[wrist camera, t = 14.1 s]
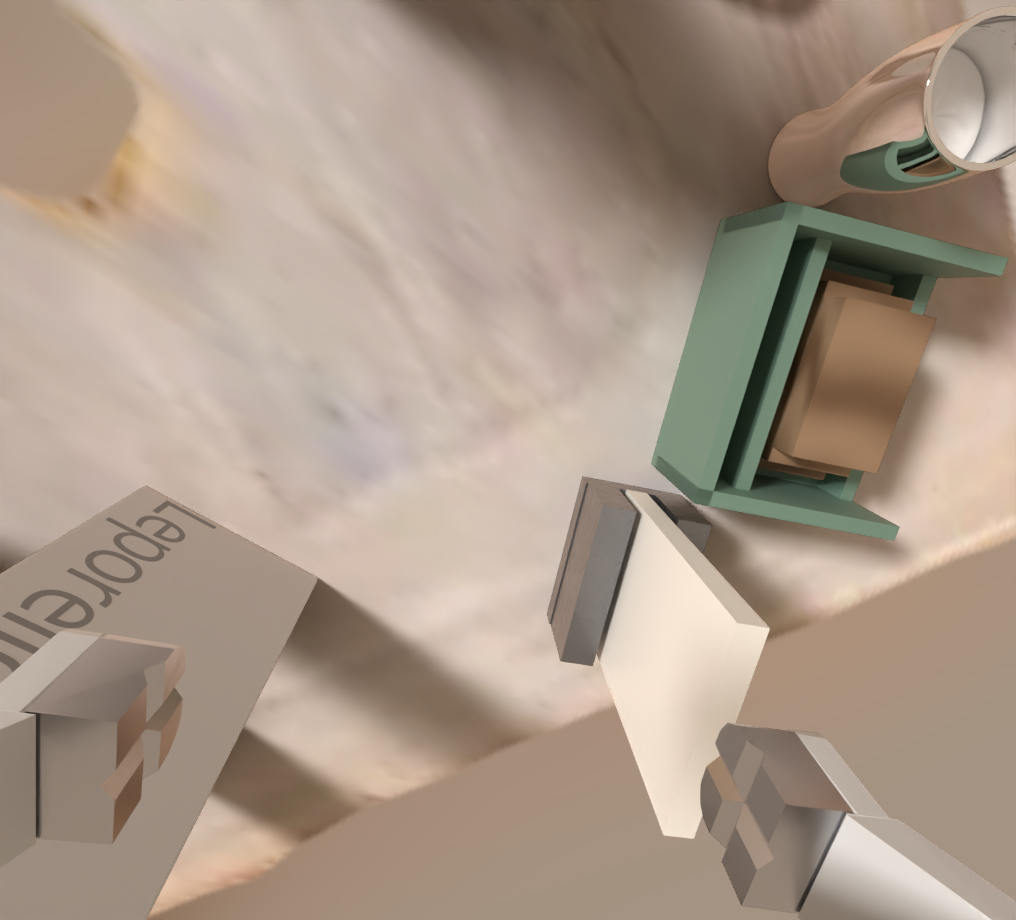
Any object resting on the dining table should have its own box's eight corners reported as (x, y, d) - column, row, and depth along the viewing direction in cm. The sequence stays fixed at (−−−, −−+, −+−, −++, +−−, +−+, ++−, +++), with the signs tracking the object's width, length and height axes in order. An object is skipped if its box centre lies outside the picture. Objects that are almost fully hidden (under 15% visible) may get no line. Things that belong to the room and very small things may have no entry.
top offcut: (823, 296, 38) (846, 296, 36) (908, 316, 39) (936, 318, 36) (772, 447, 41) (791, 456, 38) (853, 463, 41) (876, 473, 39)
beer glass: (745, 196, 42) (893, 145, 27) (785, 88, 40) (967, -27, 26) (833, 228, 43) (1021, 196, 28) (876, 125, 41) (1100, 34, 27)
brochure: (319, 578, 47) (90, 1032, 18) (284, 632, 48) (16, 1142, 19) (145, 485, 44) (-457, 850, 15) (112, 544, 45) (-509, 992, 16)
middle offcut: (808, 281, 40) (829, 280, 38) (888, 300, 41) (914, 301, 39) (752, 452, 43) (768, 461, 41) (828, 467, 44) (848, 477, 42)
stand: (582, 476, 46) (600, 505, 40) (680, 495, 47) (713, 525, 41) (547, 614, 49) (559, 661, 43) (639, 628, 50) (664, 676, 44)
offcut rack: (720, 219, 42) (787, 201, 33) (900, 265, 44) (1008, 258, 35) (651, 463, 46) (694, 503, 38) (816, 496, 48) (894, 540, 39)
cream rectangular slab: (626, 489, 45) (737, 623, 27) (646, 493, 45) (770, 628, 27) (587, 629, 48) (663, 835, 30) (606, 632, 48) (693, 838, 30)
